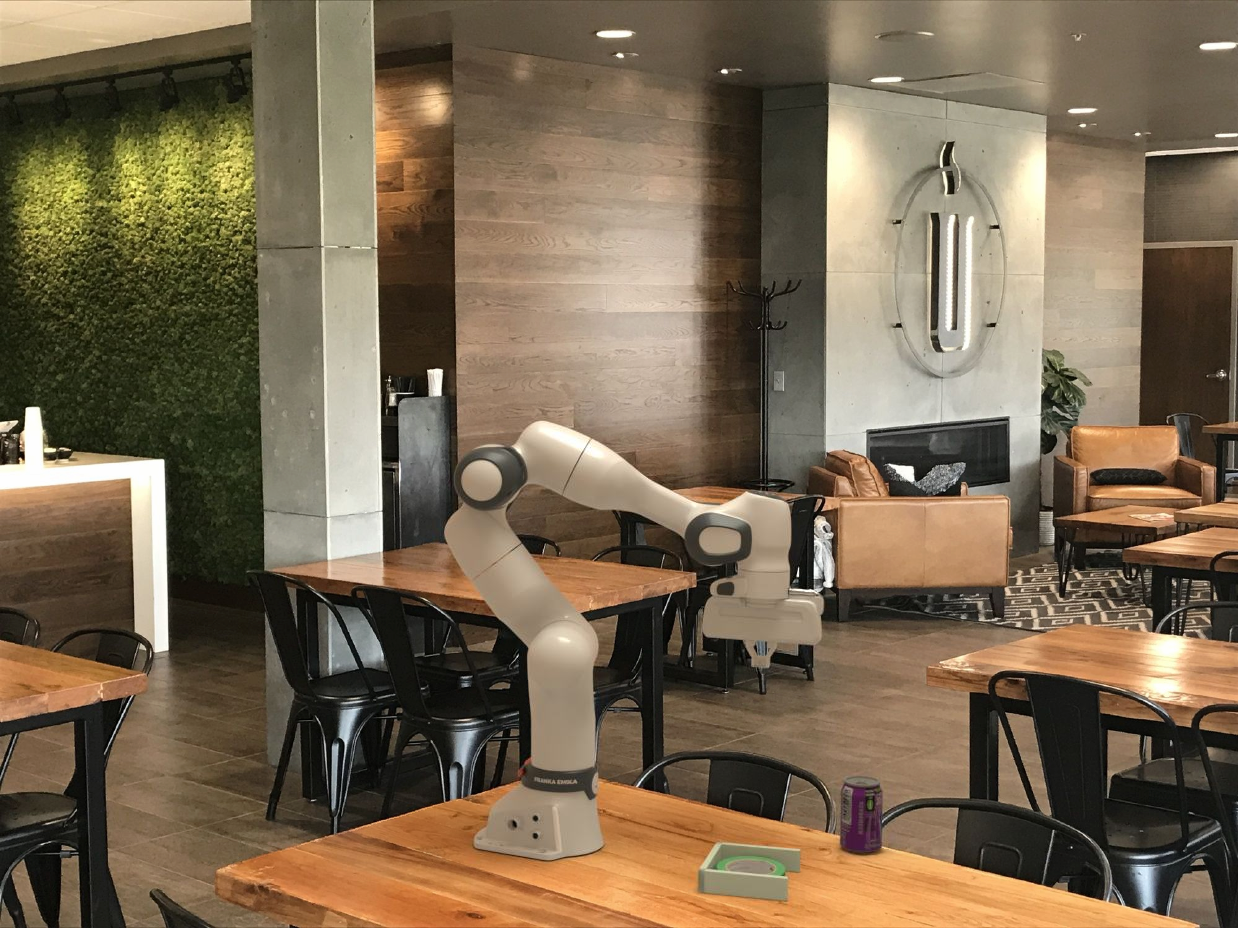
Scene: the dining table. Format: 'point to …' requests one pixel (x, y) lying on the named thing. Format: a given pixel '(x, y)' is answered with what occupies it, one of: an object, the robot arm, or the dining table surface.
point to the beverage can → (861, 814)
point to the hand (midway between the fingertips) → (760, 666)
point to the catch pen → (747, 882)
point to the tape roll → (752, 865)
